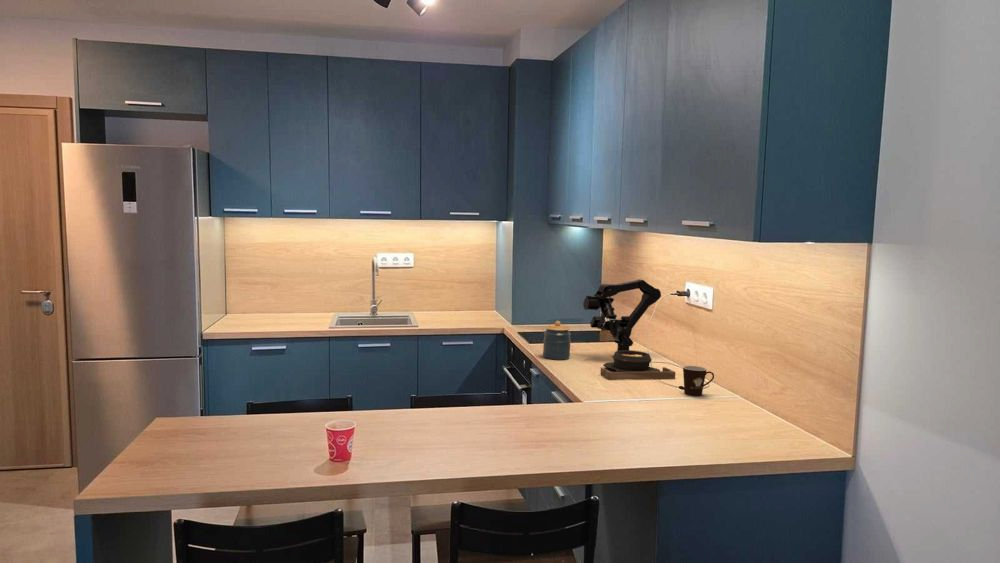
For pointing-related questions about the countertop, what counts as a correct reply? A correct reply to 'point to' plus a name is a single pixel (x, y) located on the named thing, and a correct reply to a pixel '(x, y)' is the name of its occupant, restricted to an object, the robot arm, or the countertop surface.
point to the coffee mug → (694, 380)
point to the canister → (557, 342)
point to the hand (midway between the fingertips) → (615, 336)
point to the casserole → (631, 362)
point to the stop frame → (639, 374)
